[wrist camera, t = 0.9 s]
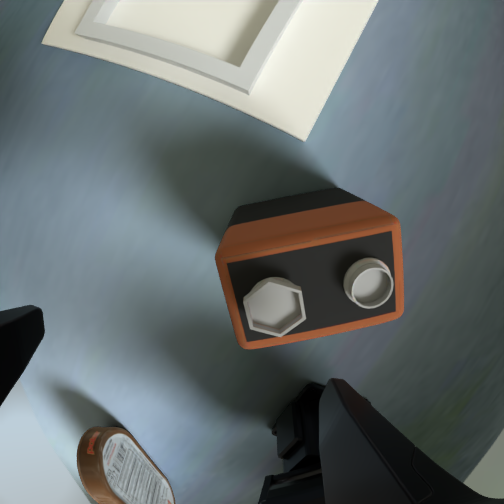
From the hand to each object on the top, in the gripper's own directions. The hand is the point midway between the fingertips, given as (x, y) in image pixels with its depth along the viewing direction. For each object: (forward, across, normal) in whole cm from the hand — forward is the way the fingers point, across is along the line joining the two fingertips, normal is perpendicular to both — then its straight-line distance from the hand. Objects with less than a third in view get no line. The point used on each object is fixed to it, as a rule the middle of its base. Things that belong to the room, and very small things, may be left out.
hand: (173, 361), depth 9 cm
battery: (+12, -4, -2) cm, 13 cm away
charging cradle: (+12, +4, -16) cm, 21 cm away
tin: (+13, +5, +25) cm, 28 cm away
